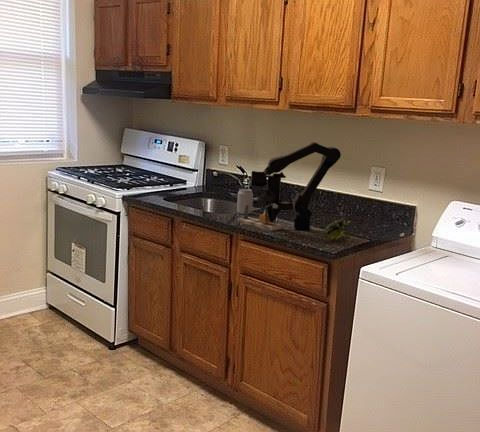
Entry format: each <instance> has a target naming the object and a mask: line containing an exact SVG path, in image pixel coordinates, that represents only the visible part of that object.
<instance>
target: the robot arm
mask: <svg viewBox="0 0 480 432" xmlns="http://www.w3.org/2000/svg"><path fill="white" fill-rule="evenodd" d="M314 153H316V154H319V155H322V157H321V161H320V164H319V165H318V167H317V169H316V170H315V172H314V173H313V175H312V177H311V178H310V179H309V181H308V183H307V185H306V186H305V187H304V189H303V190H302V191H301V192H300V193H299V192H298V191H297V192H296V194H295V196H294V197H293V198H292V202H289V201H282V198H281V193H283V190H282V189H281V187H282V186H281V183H282V179H286V178H287V177H286V175H285V174H284V173H283V170H285V169H286V168H287V167H288V166H289V165H291V164H293V163H295V162H297V161H299V160H301V159H304V158H305V157H308V156H310V155H313V154H314ZM341 156H342V153H341V151H340V150H339V149H338V148H336V147H334V146H329V147H328V146H324V145H321V144H319V143H317V142H311V143H310V144H308V145H306V146H303V147H301V148H298V149H296V150H294V151H293V152H290V153H287V154H285V155H281V156H276V157H273V158H271V159H269V161H268V162H267V167H265V168H264V170H263V171H255V170H252V171H251V175H250V182H249V184H250V185H249V186H250V187H252V188H264V187H265V186H267V188H265V189H264V193H263V194H261V195H260V196H256V197H253V203H252V205H256V206H257V205H258V206H262V208H263V209H266V210H267V213H268V216H269V220H270V223H274V222H275V220H276V218H277V216H278V215H279V213H280V211H292V210H294V211H295V212H296V216H295V217H294V222H293V223H294V224H293V227H294V230H295V231H305V232H310V230H311V218H312V215H313V213H312V212H311V210H310V209H309V205H310V202H311V200H312V197H313V195H314V193H315V191H316V190H317V188H318V187H319V185H320V184H321V183H322V181H323V179H324V178H325V176H326V175H327V173H328V171H329V169H331V168H332V167H333V166H334V165H335V164H337V162H338V161H339V160H340V159H341Z"/></svg>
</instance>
